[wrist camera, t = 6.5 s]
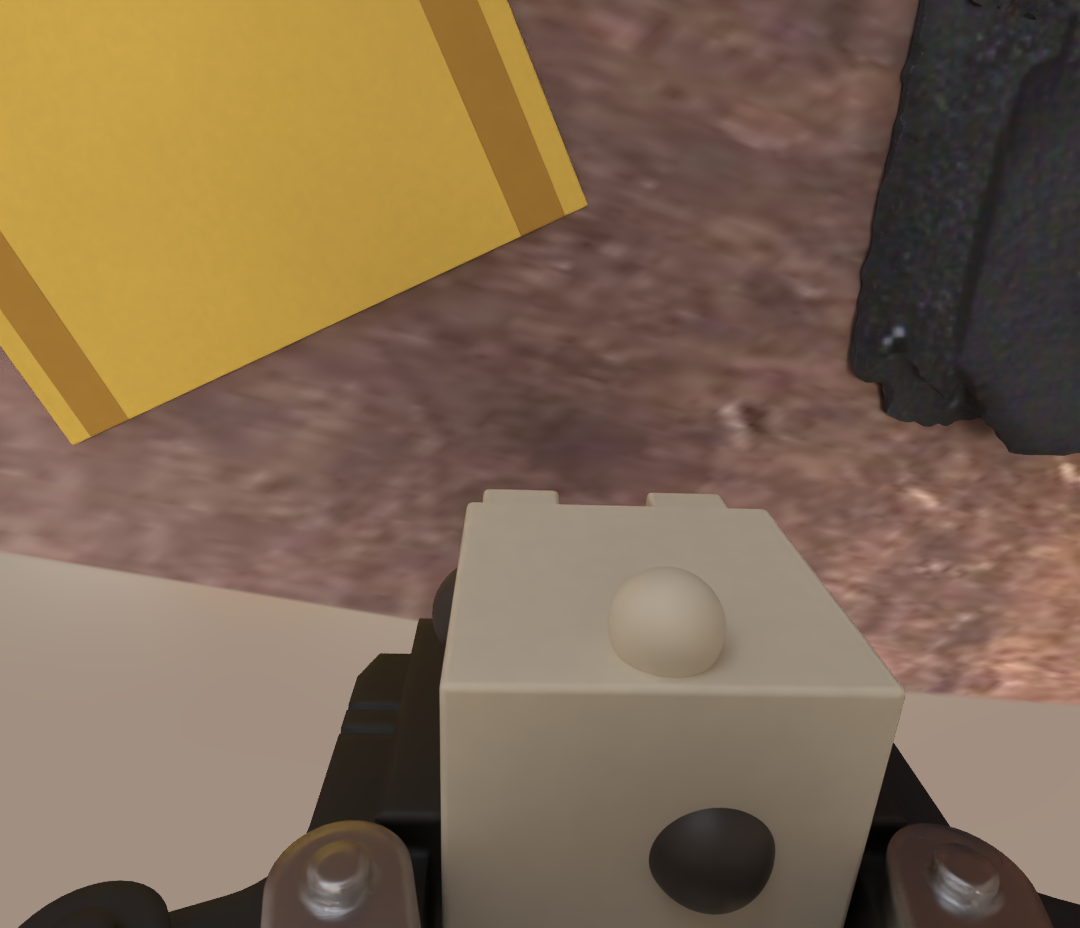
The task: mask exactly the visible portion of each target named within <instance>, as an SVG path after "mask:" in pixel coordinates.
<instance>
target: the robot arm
mask: <svg viewBox="0 0 1080 928" xmlns="http://www.w3.org/2000/svg"><path fill="white" fill-rule="evenodd" d="M444 654H445V649H444V648H443V646H442V645H441V643H440V642H439V640H438V638H437V635H436V633H435V630H434V626H433V619H422V618H420V619H419V622H418V626H417V630H416V635H415V639H414V644H413V648H412V653H411V654H379V655H378V656H377V657H376V658H375V659H374V660H373V662H371V663H370V664H369V665H368V667H367V668H366V669H365V670H364V671H363V672H362V673H361V674H360V675H359V676H358V677H357V680H356V683H355V686H354V689H353V693H352V696H351V699H350V702H349V708H348V710H347V711H346V714H345V717H344V721H343V724H342V727H341V734H339V736H338V739H337V742H336V745H335V749H334V752H333V755H332V758H331V761H330V764H329V768H328V770H327V773H326V777H325V780H324V783H323V786H322V789H321V792H320V795H319V798H318V802H317V805H316V808H315V811H314V814H313V817H312V820H311V823H310V826H309V829H308V831H307V833H306V834H305V835H303V836H302V837H301V838H299V839H297V840H296V841H295V842H293V843H292V844H291V845H290V846H289V847H288V848H287V849H286V850H285V851H284V852H283V853H282V854H281V855H280V857H279V858H278V859H277V861H276V862H275V863H274V865H273V867H272V869H271V870H270V872H269V874H268V876H267V877H266V878H264V879H263V880H261V881H259V882H258V883H256V884H254V885H252V886H250V887H248V888H246V889H243V890H241V891H238V892H236V893H233V894H230V895H227V896H223V897H220V898H216V899H213V900H210V901H206V902H202V903H199V904H196V905H192V906H189V907H185V908H182V909H178V910H175V911H171V912H168V910H167V906H166V904H165V902H164V900H163V899H162V897H161V896H160V895H159V894H158V893H157V892H156V891H155V890H153V889H152V888H150V887H148V886H146V885H144V884H140V883H136V882H133V881H108V882H102V883H98V884H93V885H90V886H86V887H83V888H80V889H77V890H75V891H73V892H71V893H69V894H66V895H64V896H62V897H60V898H58V899H57V900H55V901H53V902H51V903H50V904H48V905H46V906H45V907H44V908H42V909H41V910H39V911H38V912H36V913H35V914H34V915H32V916H31V917H30V918H29V919H28V920H26V921H25V922H24V923H23V924H22V925H21V926H19V928H442V868H441V781H440V693H439V687H440V680H441V674H442V667H443V661H444ZM843 928H1080V905H1079V904H1075V903H1071V902H1068V901H1064V900H1060V899H1057V898H1053V897H1050V896H1047V895H1043V894H1040V893H1038V892H1037V891H1036V890H1035V888H1034V886H1033V884H1032V883H1031V882H1030V881H1029V879H1028V878H1027V877H1026V875H1025V874H1024V873H1023V872H1022V871H1021V870H1020V869H1019V867H1017V866H1016V864H1015V863H1014V862H1012V861H1011V860H1010V859H1009V858H1008V857H1007V856H1005V855H1004V854H1003V853H1002V852H1000V851H999V850H997V849H996V848H995V847H993V846H991V845H990V844H988V843H987V842H985V841H983V840H981V839H980V838H977V837H976V836H973V835H971V834H969V833H967V832H964V831H962V830H959V829H956V828H952V827H950V826H949V824H948V823H947V821H946V820H945V818H944V817H943V815H942V814H941V812H940V811H939V809H938V808H937V806H936V805H935V803H934V802H933V801H932V799H931V798H930V796H929V794H928V793H927V791H926V790H925V789H924V787H923V786H922V784H921V783H920V781H919V780H918V778H917V777H916V775H915V774H914V772H913V771H912V769H911V768H910V766H909V765H908V763H907V762H906V760H905V759H904V757H903V756H902V754H901V753H900V752H899V750H898V748H897V747H896V746H895V744H894V743H893V745H892V748H891V752H890V756H889V760H888V763H887V767H886V771H885V774H884V778H883V782H882V786H881V789H880V793H879V797H878V800H877V804H876V808H875V812H874V815H873V819H872V823H871V826H870V830H869V834H868V838H867V841H866V845H865V849H864V853H863V856H862V860H861V864H860V867H859V871H858V875H857V879H856V882H855V886H854V890H853V893H852V897H851V901H850V905H849V908H848V912H847V916H846V920H845V923H844V927H843Z"/></svg>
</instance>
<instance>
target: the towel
mask: <svg viewBox="0 0 1080 928" xmlns="http://www.w3.org/2000/svg"><path fill="white" fill-rule="evenodd" d="M585 206H587V202H586V199H585V197H584V194H583V191H582V189H581V186H580V184H579V181H578V179H577V176H576V174H575V171H574V169H573V166H572V164H571V161H570V158H569V156H568V153H567V151H566V148H565V146H564V143H563V141H562V138H561V136H560V133H559V131H558V128H557V125H556V123H555V120H554V118H553V115H552V113H551V110H550V108H549V105H548V103H547V100H546V97H545V95H544V92H543V90H542V87H541V85H540V82H539V80H538V77H537V75H536V72H535V70H534V67H533V64H532V62H531V59H530V57H529V54H528V52H527V49H526V47H525V44H524V42H523V39H522V37H521V34H520V31H519V29H518V26H517V24H516V21H515V19H514V16H513V14H512V11H511V9H510V6H509V4H508V1H507V0H0V346H1V347H2V349H3V350H4V351H5V353H6V354H7V356H8V357H9V358H10V360H11V361H12V362H13V364H14V365H15V367H16V368H17V369H18V371H19V372H20V373H21V375H22V376H23V378H24V379H25V380H26V382H27V383H28V385H29V386H30V387H31V389H32V390H33V391H34V393H35V394H36V396H37V397H38V398H39V400H40V401H41V403H42V404H43V405H44V407H45V408H46V409H47V411H48V412H49V414H50V415H51V416H52V418H53V419H54V420H55V422H56V423H57V425H58V426H59V427H60V429H61V430H62V432H63V433H64V434H65V436H66V437H67V438H68V440H69V441H70V443H71V444H72V445H76V444H78V443H80V442H82V441H84V440H86V439H88V438H91V437H93V436H95V435H97V434H99V433H101V432H104V431H106V430H108V429H110V428H112V427H114V426H116V425H119V424H121V423H123V422H125V421H127V420H129V419H131V418H133V417H136V416H138V415H140V414H142V413H144V412H146V411H148V410H151V409H153V408H155V407H157V406H159V405H161V404H163V403H166V402H168V401H170V400H172V399H174V398H176V397H178V396H181V395H183V394H185V393H187V392H189V391H191V390H193V389H196V388H198V387H200V386H202V385H204V384H206V383H208V382H211V381H213V380H215V379H217V378H219V377H221V376H223V375H226V374H228V373H230V372H232V371H234V370H236V369H238V368H241V367H243V366H245V365H247V364H249V363H251V362H253V361H256V360H258V359H260V358H262V357H264V356H266V355H268V354H271V353H273V352H275V351H277V350H279V349H281V348H283V347H286V346H288V345H290V344H292V343H294V342H296V341H298V340H300V339H303V338H305V337H307V336H309V335H311V334H313V333H315V332H318V331H320V330H322V329H324V328H326V327H328V326H330V325H333V324H335V323H337V322H339V321H341V320H343V319H345V318H348V317H350V316H352V315H354V314H356V313H358V312H360V311H363V310H365V309H367V308H369V307H371V306H373V305H375V304H378V303H380V302H382V301H384V300H386V299H388V298H390V297H393V296H395V295H397V294H399V293H401V292H403V291H405V290H408V289H410V288H412V287H414V286H416V285H418V284H420V283H423V282H425V281H427V280H429V279H431V278H433V277H435V276H438V275H440V274H442V273H444V272H446V271H448V270H450V269H453V268H455V267H457V266H459V265H461V264H463V263H465V262H468V261H470V260H472V259H474V258H476V257H478V256H480V255H483V254H485V253H487V252H489V251H491V250H493V249H495V248H498V247H500V246H502V245H504V244H506V243H508V242H510V241H513V240H515V239H517V238H519V237H521V236H523V235H526V234H528V233H530V232H532V231H534V230H536V229H538V228H541V227H543V226H545V225H547V224H549V223H551V222H553V221H556V220H558V219H560V218H562V217H564V216H566V215H568V214H570V213H573V212H575V211H577V210H579V209H581V208H583V207H585Z"/></svg>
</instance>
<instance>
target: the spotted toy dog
mask: <svg viewBox="0 0 1080 928" xmlns="http://www.w3.org/2000/svg"><path fill="white" fill-rule="evenodd" d="M432 618H433V626H434V630H435V633H436V635H437V638H438V640H439V642H440V643H441V645H442V646H443V648H444V649H445V654H444V661H443V667H442V674H441V680H440V687H439V693H440V781H441V868H442V928H843V927H844V923H845V920H846V916H847V912H848V908H849V905H850V901H851V897H852V893H853V890H854V886H855V882H856V879H857V875H858V871H859V867H860V864H861V860H862V856H863V853H864V849H865V845H866V841H867V838H868V834H869V830H870V826H871V823H872V819H873V815H874V812H875V808H876V804H877V800H878V797H879V793H880V789H881V786H882V782H883V778H884V774H885V771H886V767H887V763H888V760H889V756H890V752H891V748H892V745H893V741H894V737H895V733H896V730H897V726H898V722H899V718H900V715H901V711H902V707H903V704H904V700H905V692H904V689H903V687H902V686H901V684H900V683H899V682H898V680H897V679H896V678H895V677H894V675H893V674H892V673H891V671H890V670H889V669H888V667H887V666H886V665H885V664H884V662H883V661H882V660H881V658H880V657H879V656H878V654H877V653H876V652H875V651H874V649H873V648H872V647H871V645H870V644H869V643H868V641H867V640H866V639H865V638H864V636H863V635H862V634H861V632H860V631H859V630H858V628H857V627H856V626H855V625H854V623H853V622H852V621H851V619H850V618H849V617H848V615H847V614H846V613H845V612H844V610H843V609H842V608H841V606H840V605H839V604H838V602H837V601H836V600H835V599H834V597H833V596H832V595H831V593H830V592H829V591H828V589H827V588H826V587H825V586H824V584H823V583H822V582H821V580H820V579H819V578H818V576H817V575H816V574H815V573H814V571H813V570H812V569H811V567H810V566H809V565H808V563H807V562H806V561H805V560H804V558H803V557H802V556H801V554H800V553H799V552H798V550H797V549H796V548H795V547H794V545H793V544H792V543H791V541H790V540H789V539H788V537H787V536H786V535H785V534H784V532H783V531H782V530H781V528H780V527H779V526H778V524H777V523H776V522H775V521H774V519H773V518H772V517H771V515H770V514H769V513H768V511H766V510H763V509H729V508H727V506H726V505H725V503H724V502H723V500H722V498H721V497H720V496H719V495H717V494H680V493H649V494H648V496H647V501H646V506H604V505H562V504H560V502H559V496H558V493H557V492H555V491H543V490H502V489H488V490H486V491H485V492H484V494H483V502H482V503H478V502H473V503H469V504H468V506H467V509H466V516H465V522H464V529H463V535H462V542H461V549H460V555H459V562H458V568H456V569H455V570H454V571H452V572H451V573H450V574H449V575H448V576H447V577H446V578H445V580H444V581H443V582H442V584H441V585H440V587H439V589H438V591H437V593H436V596H435V599H434V603H433V612H432Z"/></svg>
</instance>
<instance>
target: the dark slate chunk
mask: <svg viewBox="0 0 1080 928" xmlns="http://www.w3.org/2000/svg"><path fill="white" fill-rule="evenodd" d="M901 77H902V82H903V84H904V85H903V89H902V91H903V92H902V97H901V102H900V107H899V112H898V116H897V119H896V122H895V125H894V129H893V138H892V144H891V148H890V152H889V155H888V158H887V162H886V168H885V180H884V182H883V184H882V186H881V189H880V191H879V196H878V203H877V211H876V217H875V221H874V225H873V231H872V232H873V240H872V249H871V252H870V254H869V256H868V259H867V261H866V263H865V265H864V267H863V270H862V282H863V286H862V290H861V294H860V297H859V313H858V319H857V322H856V325H855V329H854V339H853V344H852V351H851V357H852V365H853V368H854V371H855V373H856V375H857V377H858V378H859V379H861V380H862V381H864V382H878V383H881V384H882V387H883V394H884V399H885V407H884V412H886V413H887V414H889V415H891V416H892V417H894V418H896V419H897V420H900V421H905V422H912V421H916V422H918V423H919V424H921V425H923V426H933V425H936V424H938V423H940V424H941V425H943V426H948V425H950V424H952V423H953V422H955V421H957V420H973V419H975V418H977V417H982V419H983V420H984V421H985V422H986V423H987V424H988V425H989V426H990V427H992V428H993V429H994V431H995V434H996V436H997V437H998V438H999V439H1000V440H1001V441H1002V442H1003V443H1004V444H1005V445H1006V447H1007V449H1008V451H1009V452H1011V453H1015V454H1023V455H1058V456H1065V455H1069V454H1073V453H1080V0H920V7H919V15H918V20H917V25H916V28H915V31H914V35H913V39H912V44H911V49H910V54H909V58H908V61H907V63H906V66H905V68H904V70H903V73H902V76H901Z"/></svg>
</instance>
